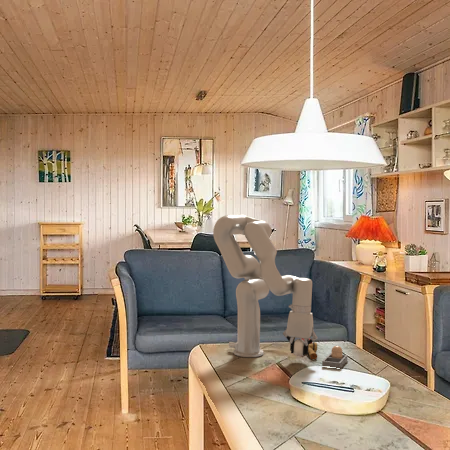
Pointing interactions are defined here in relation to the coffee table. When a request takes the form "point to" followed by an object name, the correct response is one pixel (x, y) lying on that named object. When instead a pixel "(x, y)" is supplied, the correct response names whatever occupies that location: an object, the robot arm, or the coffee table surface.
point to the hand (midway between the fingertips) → (298, 353)
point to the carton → (335, 358)
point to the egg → (298, 347)
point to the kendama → (312, 349)
